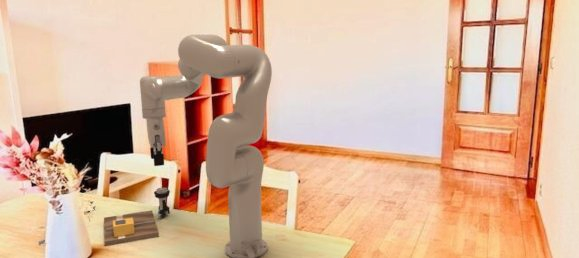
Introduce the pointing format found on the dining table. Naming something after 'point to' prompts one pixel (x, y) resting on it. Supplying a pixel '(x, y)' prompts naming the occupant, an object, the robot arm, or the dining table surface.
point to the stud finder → (123, 227)
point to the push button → (162, 202)
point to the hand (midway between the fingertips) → (157, 161)
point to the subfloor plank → (142, 228)
